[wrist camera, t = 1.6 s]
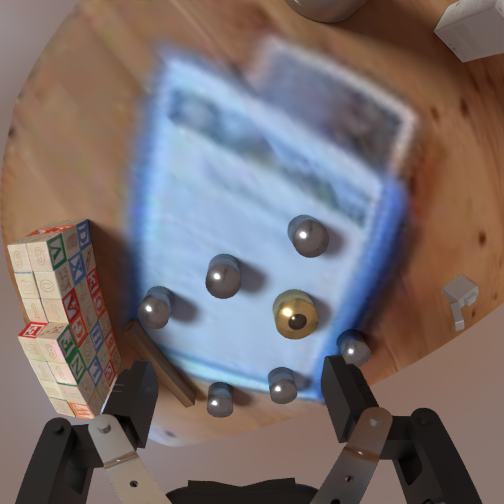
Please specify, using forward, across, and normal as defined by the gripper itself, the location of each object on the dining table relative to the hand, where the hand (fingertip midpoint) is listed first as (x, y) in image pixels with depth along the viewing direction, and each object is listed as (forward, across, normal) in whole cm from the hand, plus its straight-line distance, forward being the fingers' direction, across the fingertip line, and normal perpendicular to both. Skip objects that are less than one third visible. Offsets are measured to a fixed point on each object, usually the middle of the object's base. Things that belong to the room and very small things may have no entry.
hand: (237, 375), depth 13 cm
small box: (+22, -31, -30) cm, 49 cm away
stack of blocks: (+22, +20, +8) cm, 31 cm away
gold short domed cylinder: (+22, -7, +9) cm, 25 cm away
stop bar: (+22, +11, +17) cm, 30 cm away
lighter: (+22, -31, +8) cm, 39 cm away
